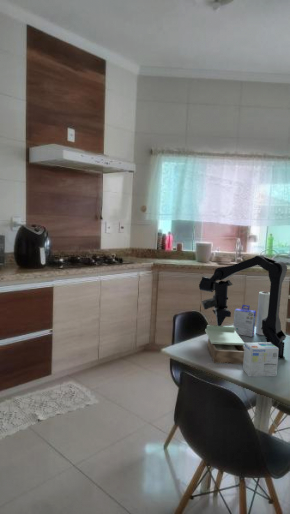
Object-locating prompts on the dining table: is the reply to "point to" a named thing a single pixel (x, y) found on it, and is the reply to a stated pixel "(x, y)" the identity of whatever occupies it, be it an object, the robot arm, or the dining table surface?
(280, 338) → the robot arm
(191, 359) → the dining table surface
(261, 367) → the light bulb box
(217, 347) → the box
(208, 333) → the lid
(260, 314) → the paper towel roll
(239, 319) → the ink cartridge box
